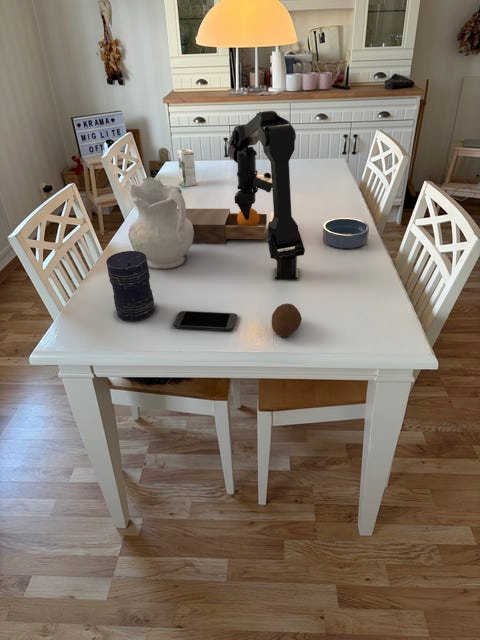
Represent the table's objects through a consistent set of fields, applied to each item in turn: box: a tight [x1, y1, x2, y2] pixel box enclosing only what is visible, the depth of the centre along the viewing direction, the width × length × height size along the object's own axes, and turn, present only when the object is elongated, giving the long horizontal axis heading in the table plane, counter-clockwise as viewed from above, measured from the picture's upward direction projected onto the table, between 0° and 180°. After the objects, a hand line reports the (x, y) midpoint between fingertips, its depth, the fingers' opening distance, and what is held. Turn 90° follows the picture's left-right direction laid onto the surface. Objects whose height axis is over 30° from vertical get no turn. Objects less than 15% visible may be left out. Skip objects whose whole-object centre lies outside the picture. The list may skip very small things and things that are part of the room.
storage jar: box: [105, 250, 156, 323], centre depth 121 cm, size 10×10×15 cm
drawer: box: [225, 211, 274, 240], centre depth 161 cm, size 22×13×5 cm, turn 83°
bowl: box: [322, 217, 370, 249], centre depth 155 cm, size 14×14×5 cm
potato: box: [271, 302, 303, 338], centre depth 113 cm, size 7×10×7 cm
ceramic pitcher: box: [127, 176, 194, 270], centre depth 142 cm, size 22×20×25 cm
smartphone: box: [172, 310, 238, 332], centre depth 119 cm, size 7×15×1 cm, turn 81°
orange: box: [237, 207, 259, 226], centre depth 160 cm, size 7×7×7 cm
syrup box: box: [177, 148, 197, 188], centre depth 209 cm, size 6×6×14 cm
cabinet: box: [177, 208, 231, 245], centre depth 164 cm, size 19×15×7 cm
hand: (248, 215), depth 160 cm, fingers open, 7 cm apart
